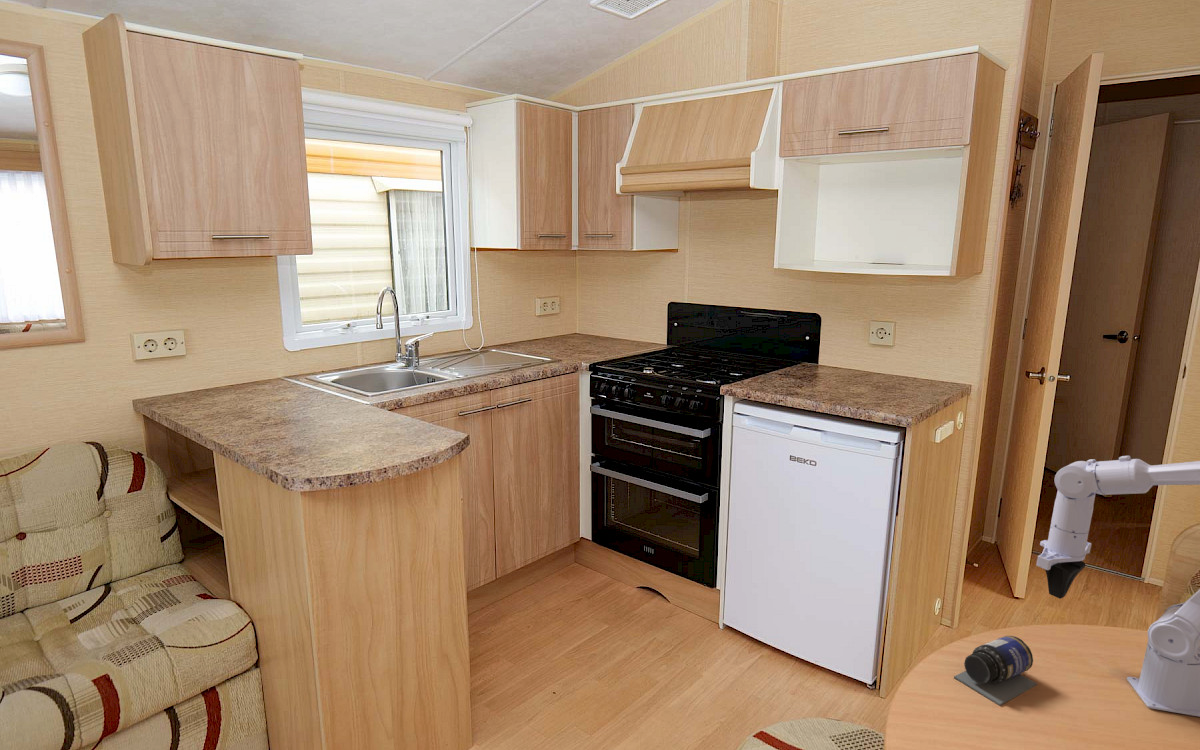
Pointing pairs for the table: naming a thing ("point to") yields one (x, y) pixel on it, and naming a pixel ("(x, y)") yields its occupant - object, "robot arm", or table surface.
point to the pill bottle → (998, 660)
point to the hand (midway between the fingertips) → (1056, 595)
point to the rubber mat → (998, 687)
